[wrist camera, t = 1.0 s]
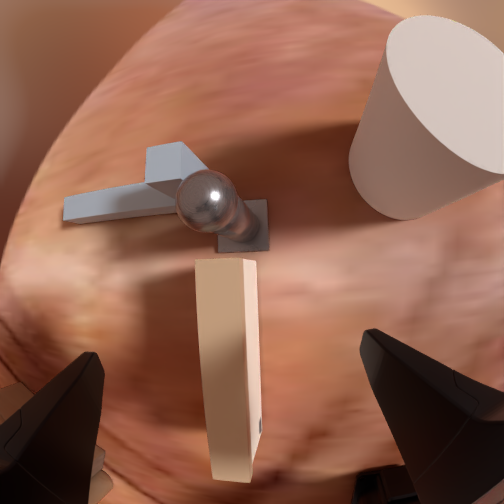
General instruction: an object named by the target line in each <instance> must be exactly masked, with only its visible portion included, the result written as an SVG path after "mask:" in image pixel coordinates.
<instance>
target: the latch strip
mask: <svg viewBox="0 0 504 504" xmlns="http://www.w3.org/2000/svg"><path fill="white" fill-rule="evenodd" d="M206 169H208V168H207V167H206V166H205V165H204V164H203V163H202V162H201V160H200V159H199V158H198V157H197V156H196V155H195V154H194V153H193V152H192V151H191V150H190V149H189V148H188V147H187V146H186V145H185V144H184V143H183V142H182V141H180V142H174V143H169V144H163V145H158V146H153V147H148V148H147V154H146V170H145V182H143V183H137V184H131V185H125V186H119V187H114V188H108V189H103V190H98V191H93V192H88V193H83V194H78V195H73V196H69V197H65V198H64V212H63V221H68V222H73V223H78V224H83V223H91V222H99V221H106V220H115V219H123V218H131V217H140V216H149V215H159V214H169V213H177V211H176V207H175V195H176V192H177V189H178V187H179V185H180V183H181V182H182V181H183V180H184V179H185V178H186V177H187V176H188V175H190V174H191V173H193V172H195V171H199V170H206Z"/></svg>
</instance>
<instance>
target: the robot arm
mask: <svg viewBox="0 0 504 504" xmlns="http://www.w3.org/2000/svg"><path fill="white" fill-rule="evenodd" d="M360 356H361V358H362V361H363V364H364V367H365V370H366V373H367V376H368V379H369V382H370V385H371V388H372V390H373V393H374V395H375V397H376V399H377V401H378V404H379V406H380V408H381V410H382V412H383V415H384V417H385V419H386V421H387V423H388V426H389V428H390V430H391V432H392V435H393V437H394V439H395V442H396V444H397V446H398V448H399V451H400V453H401V455H402V458H403V460H404V463H405V465H406V466H402V467H397V468H391V469H385V470H379V471H372V472H364V473H360V474H358V475H357V476H356V481H355V486H354V491H353V496H352V501H351V504H504V392H501V391H499V390H497V389H494V388H492V387H489V386H487V385H484V384H482V383H480V382H477V381H475V380H473V379H471V378H469V377H467V376H465V375H463V374H461V373H459V372H457V371H455V370H452V369H451V368H449V367H447V366H446V365H444V364H442V363H440V362H438V361H436V360H434V359H432V358H430V357H429V356H427V355H425V354H423V353H421V352H419V351H417V350H415V349H413V348H412V347H410V346H408V345H406V344H404V343H402V342H400V341H398V340H397V339H395V338H393V337H391V336H389V335H387V334H385V333H384V332H382V331H380V330H378V329H375V328H373V329H368V330H365V331H364V333H363V336H362V341H361V345H360ZM104 377H105V373H104V369H103V366H102V364H101V362H100V359H99V357H98V355H97V353H96V352H84V353H83V354H81V355H80V356H79V357H78V358H77V359H75V360H74V361H73V362H72V363H71V364H70V365H68V366H67V367H66V368H65V369H64V370H63V371H61V372H60V373H59V374H58V375H57V376H56V377H54V378H53V379H52V380H51V381H50V382H49V383H48V384H46V385H45V386H44V387H43V388H42V389H41V390H40V391H38V392H37V393H36V394H35V395H34V396H33V397H32V398H30V399H29V400H28V401H27V402H26V403H25V404H24V405H23V406H21V409H20V408H19V409H18V410H17V411H16V412H15V413H14V414H12V415H11V416H10V417H9V418H8V419H7V420H5V421H4V422H3V423H2V424H0V504H88V501H89V491H90V482H91V474H92V466H93V459H94V452H95V446H96V439H97V434H98V428H99V422H100V417H101V409H102V397H103V386H104ZM362 477H364V478H362ZM360 478H362V479H360Z"/></svg>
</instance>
